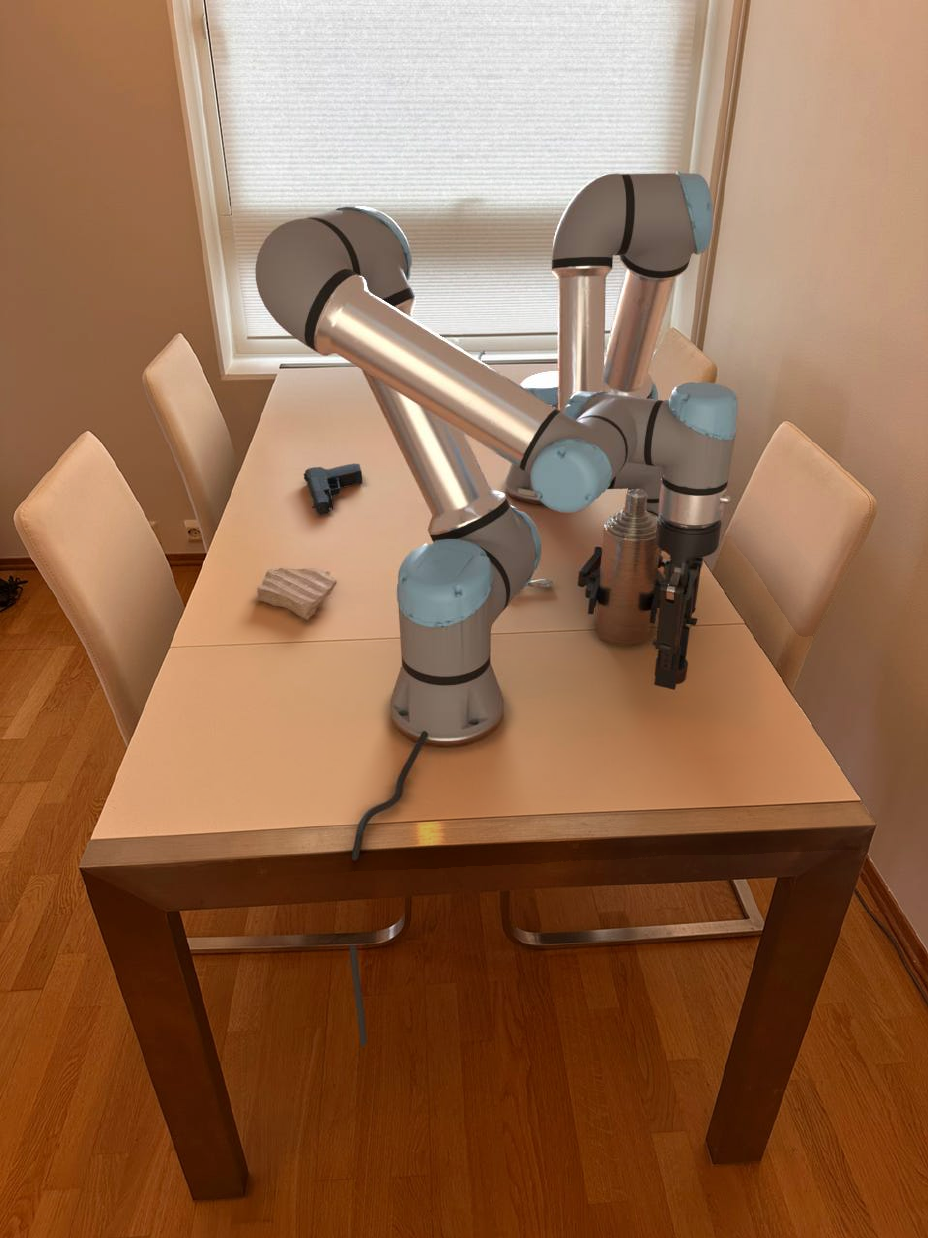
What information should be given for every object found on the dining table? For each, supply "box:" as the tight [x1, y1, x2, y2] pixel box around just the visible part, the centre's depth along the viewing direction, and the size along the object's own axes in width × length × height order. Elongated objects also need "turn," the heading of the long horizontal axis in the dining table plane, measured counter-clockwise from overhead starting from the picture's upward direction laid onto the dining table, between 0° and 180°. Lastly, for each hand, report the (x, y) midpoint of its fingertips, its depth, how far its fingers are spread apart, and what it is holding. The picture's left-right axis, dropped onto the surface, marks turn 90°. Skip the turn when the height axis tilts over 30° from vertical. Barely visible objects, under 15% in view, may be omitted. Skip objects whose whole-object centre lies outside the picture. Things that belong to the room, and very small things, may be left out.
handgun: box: [303, 463, 363, 515], centre depth 181 cm, size 3×18×12 cm
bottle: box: [594, 489, 660, 647], centre depth 132 cm, size 8×8×23 cm
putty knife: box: [525, 578, 554, 588], centre depth 148 cm, size 1×8×2 cm, turn 103°
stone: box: [256, 567, 337, 621], centre depth 147 cm, size 13×12×3 cm
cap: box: [654, 655, 689, 685], centre depth 118 cm, size 4×4×2 cm
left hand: (669, 675), depth 119 cm, fingers closed on cap, 4 cm apart
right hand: (621, 610), depth 131 cm, fingers closed on bottle, 8 cm apart
